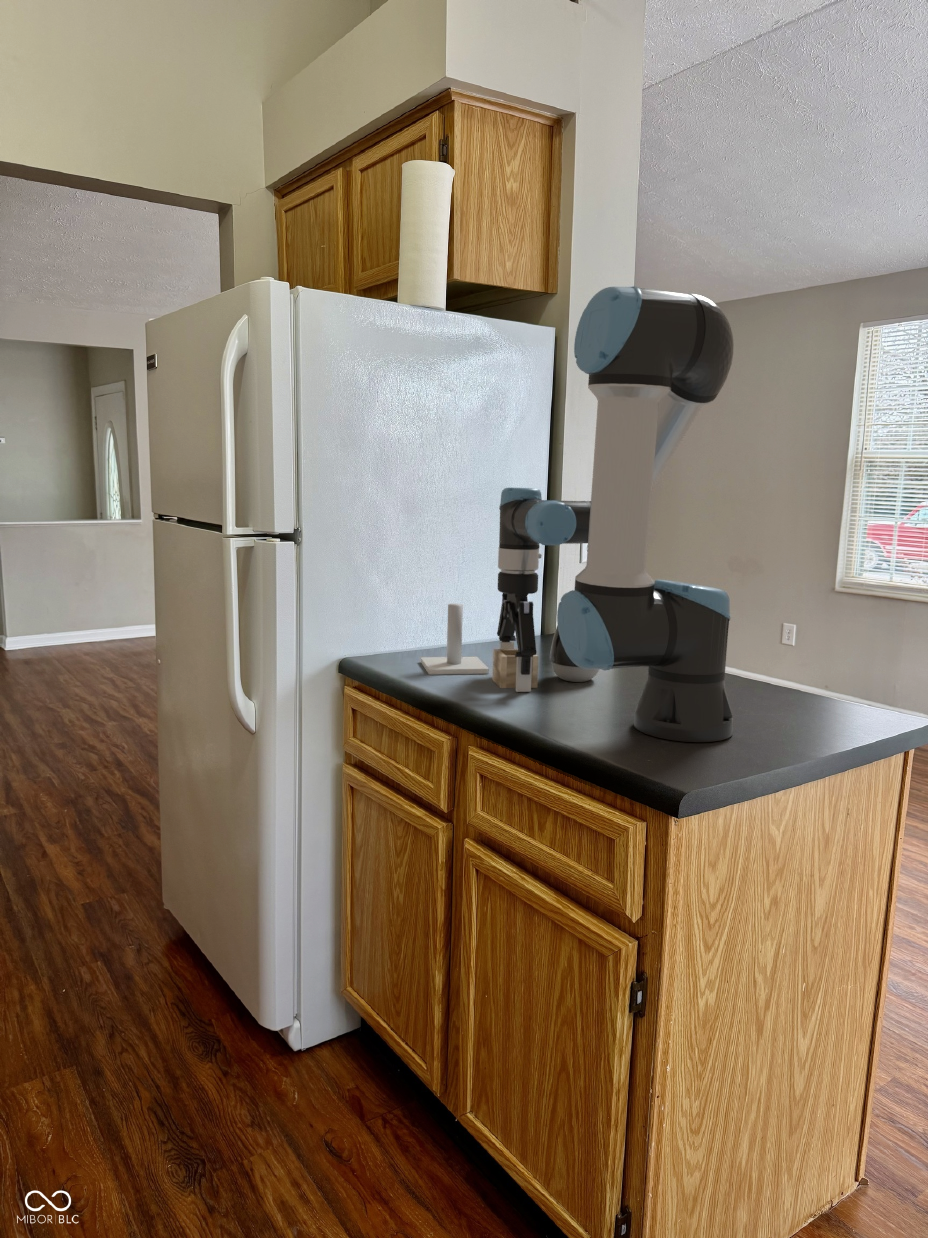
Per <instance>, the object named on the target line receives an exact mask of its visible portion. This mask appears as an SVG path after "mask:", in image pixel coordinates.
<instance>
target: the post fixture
mask: <svg viewBox="0 0 928 1238" xmlns="http://www.w3.org/2000/svg"><path fill="white" fill-rule="evenodd" d="M463 610H464V606H463V604H461V603H448V604H447V628H446V629H447V630H446V631H447V633H446V634H447V636H446V656H434V657H433V656H432V657H431V656H430V657H429V656H424V657H420V663H421V665H422V666H423V668H424V669H425V670H426V672H427V674H428V675H429V676H432V675H475V674H476V675H478V674H479V675H480V674H481V675H482V674H485V675H487V674H490V668H489V667H488V666H487V665H486V664H485V663H484V662H483V661H482V660H481V659H480V658H479V657H478V656H462V653H463V652H462V649H463V647H462V646H463V616H464V615H463V613H464V611H463Z"/></svg>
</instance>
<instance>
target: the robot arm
mask: <svg viewBox="0 0 928 1238" xmlns="http://www.w3.org/2000/svg"><path fill="white" fill-rule="evenodd" d="M578 321H579V322H578V325H577V327H576V331H575V336H574V343H573V352H574V358H575V359H576V360H575V363H576V366H577V368H578V369H579V370H580V371H581V372H583V373H584V374H586V375H588V381H587V385H588V386H587V387H588V390H589V392H591V393H592V395H594V396H595V398H596V400H597V408H596V409H597V410H596V422H595V424H596V425H595V435H594V436H595V439H594V452H593V463H592V464H593V466H592V467H593V468H592V469H593V470H592V482H591V492H590V493H591V495H590V500H554V499H553V500H551V499H550V500H549V499H543V498H542V492H541V490H540V489H539V488H535V487H505V488H503V489H502V491H501V495H500V504H499V507H498V508H499V509H498V510H499V533H498V534H499V537H498V538H499V542H498V543H499V545H498V546H499V547H498V553H497V554H498V557H497V568H498V569H499V570H500V571H499V572H498V573H497V590H498V592H500V593H502V594H501V596H502V598H501V607H500V608H501V609H500V613H499V620H498V626H497V632H496V636H497V637H498V640H499V641H500V642H499V649H515V641H516V645H517V649H518V652H516V654H515V657H517V665H516V688H515V692H516V693H518V692H521V693H523V692H524V693H525V692H532V688H531V677H532V657H533V655H537V653H538V652H537V645H536V644H537V642H536V634H535V622H534V621H535V619H534V602H533V601H529V600H528V595H530V594H531V595H532V594H536V593H537V592H538V589H539V574H538V572H536V571H537V570H538V569H539V562H540V559H542V556H543V555H542V553H540V547H541V546H540V544H541V545H542V546H561V545H563V544H566V545H567V544H573V545H574V544H575V545H576V544H577V545H578V544H587V552H586V553H587V554H586V564H585V566H584V568H583V569H582V570H581V571H580V572H578V574H577V575H575V579H574V580H575V581H574V589H573V590H569V591H568V592H565V593H564V594H563V595H562V597H561V598H560V601H559V602H558V606H557V613H556V614H557V615H556V616H557V619H556V621H557V625H558V631H559V636H560V639H561V642H562V645H563V647H564V649H565V652H566V654H567V655H568V657H569V658H570V659H571V661H572V662H573V663H574V664H576V665H577V666H579V667H581V668H584V669H599V670H602V671H610V670H611V669H612V670H613V669H614V670H615V669H630V668H643V667H644V668H645V667H646V668H647V667H648V671H647V680H646V683H645V685H644V688H643V690H642V692H641V694H640V697H639V699H638V702H637V704H636V708H635V710H634V717H633V726H634V728H635V729H637V731H639V732H641V733H642V734H645V735H648V736H651V737H655V738H659V739H662V740H663V739H664V740H669V741H676V742H685V743H686V742H687V743H712V742H719V741H723V740H727V739H729V738H730V737H732V735H733V731H734V730H733V729H734V717H733V713H732V709H731V706H730V701H729V698H728V694H727V690H726V686H725V681H726V680H725V678H726V667H727V665H726V664H727V653H728V652H727V650H728V640H729V639H728V636H729V627H730V626H729V625H730V621H731V614H730V613H731V612H730V605H731V603H730V596H729V595H728V593H727V592H726V591H725V590H723V589H721V588H716V587H711V586H706V585H701V584H694V583H693V584H692V583H687V582H681V581H674V580H667V579H655V580H654V579H653V578H652V577H651V575H650V574H649V573H648V572H647V570H646V565H647V564H646V563H647V553H648V541H649V529H650V528H649V527H650V516H651V515H650V514H651V506H652V492H653V491H652V490H653V489H654V487H655V486H656V484H657V482H658V481H659V479H660V477H661V475H662V474H663V473H664V470H665V469H666V467H667V466H668V464H669V462H670V460H671V459H672V458H673V456H674V454H675V453H676V451H677V449H678V447H679V446H680V444H681V443H682V441H683V439H684V438H685V436H686V434H687V433H688V431H689V430H690V429H691V427H692V424H693V423H694V422H695V419H696V418H697V416H698V414H699V413H700V412H701V410H702V408H703V406H704V405H708V404H711V403H713V402H714V401H715V400H716V398H717V397H718V395H719V393H720V392H721V390H722V389H723V388H724V385H725V383H726V381H727V379H728V376H729V374H730V370H731V366H732V363H733V356H734V345H735V344H734V336H733V332H732V331H733V330H732V328H731V324H730V322H729V320H728V318H727V316H726V315H725V313H724V311H723V310H722V309H721V308H720V306H719V305H717V303H715V302H714V301H712V300H711V299H709V298H707V297H705V296H702V295H700V294H696V293H681V292H672V291H667V290H666V291H665V290H658V289H653V288H645V287H640V286H639V287H638V286H635V285H633V286H608V287H604V288H602V289H600V290H599V291H598V292H597V293H595V294H594V295H593V296H592V297H591V299H590V300H589V301H588V303H587V305H586V307H585V308H584V310H583V311H582V314H581V316H580V319H579V320H578Z"/></svg>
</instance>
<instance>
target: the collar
mask: <svg viewBox="0 0 928 1238" xmlns="http://www.w3.org/2000/svg"><path fill="white" fill-rule="evenodd" d="M492 650H493V652H492V681H493V682H494V683H495V684H496V685H497V686H498V687H499V688H500V689H516V665H517V657H515V654H516V652H518V648H514V649H500V648H499V649H498V648H495V649H494V648H493V649H492ZM538 673H539V655H538V654H536V655H533V657H532V677H531V689H534V688H538V678H539V677H538V676H539V674H538Z"/></svg>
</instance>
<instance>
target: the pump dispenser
mask: <svg viewBox="0 0 928 1238" xmlns="http://www.w3.org/2000/svg"><path fill="white" fill-rule="evenodd" d="M549 652H550V653H549V661H550V662H551V667H552V670H553V672H554V673H555V674H556V676H557V677H558V678H560V679H561V680H563V681H566V682H572V683H584V682H588V681H590V680H592V679H594V678H595V677H596V676H597V675H598V673H599V671H600V669H584V668H581V667H579V666H577V665H576V664H574V663H573V662H572V661H571V659H570V658H569V657H568V655H567V654H566V652H565V649H564V647H563V645H562V642H561V639H560V636H559V631H558V624H557V626H556V629H555V631H554V634H553V638H552V643H551V647H550V651H549Z"/></svg>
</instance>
